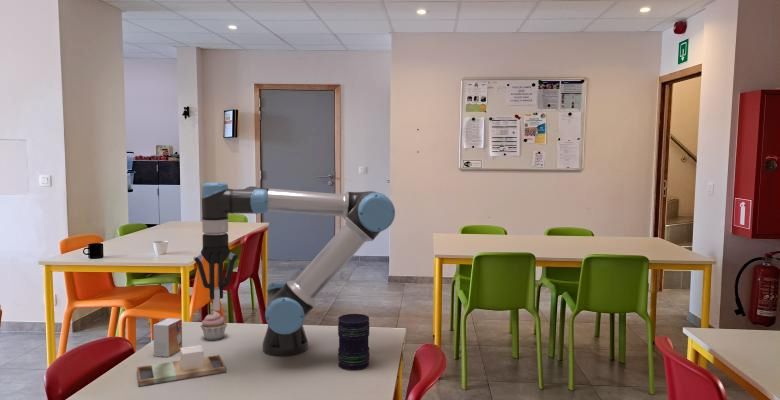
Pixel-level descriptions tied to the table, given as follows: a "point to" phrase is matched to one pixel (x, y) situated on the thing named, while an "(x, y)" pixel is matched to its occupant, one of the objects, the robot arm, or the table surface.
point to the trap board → (178, 371)
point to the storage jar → (353, 342)
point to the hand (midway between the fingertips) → (216, 309)
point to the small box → (167, 337)
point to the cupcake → (213, 326)
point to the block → (192, 357)
